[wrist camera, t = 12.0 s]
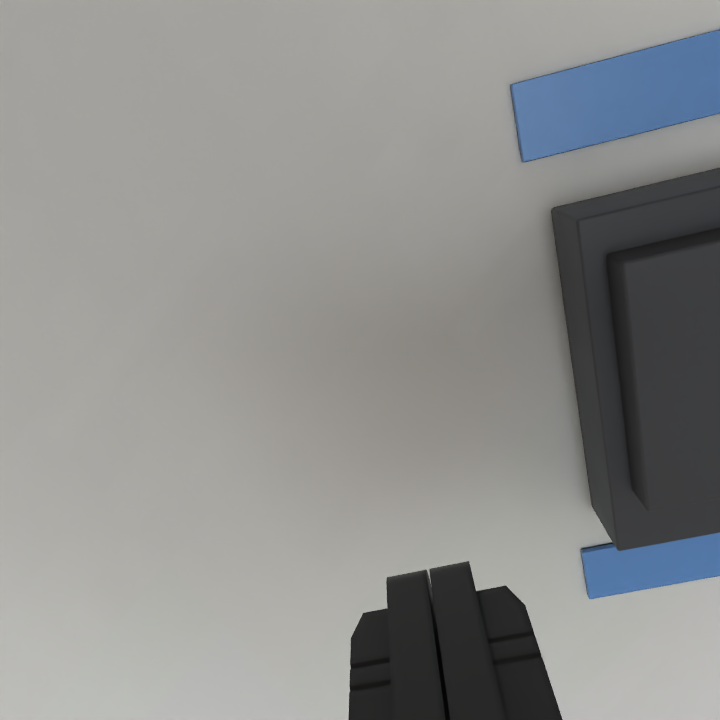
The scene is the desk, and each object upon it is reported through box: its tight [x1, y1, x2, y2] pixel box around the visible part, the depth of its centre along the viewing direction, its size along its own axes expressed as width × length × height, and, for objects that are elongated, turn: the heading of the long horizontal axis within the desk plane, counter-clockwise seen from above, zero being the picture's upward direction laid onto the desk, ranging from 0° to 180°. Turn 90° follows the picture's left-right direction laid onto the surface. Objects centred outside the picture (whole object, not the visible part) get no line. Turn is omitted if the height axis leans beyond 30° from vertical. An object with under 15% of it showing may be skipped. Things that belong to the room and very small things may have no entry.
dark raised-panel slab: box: [551, 168, 720, 551], centre depth 17 cm, size 10×6×4 cm, turn 14°
